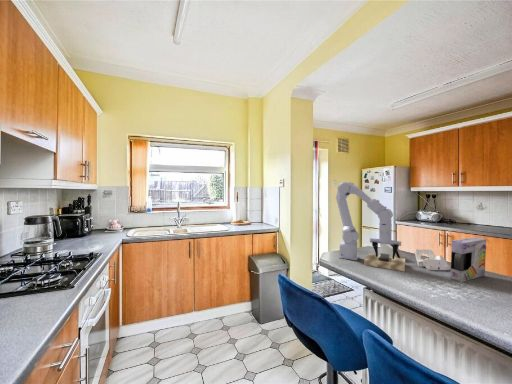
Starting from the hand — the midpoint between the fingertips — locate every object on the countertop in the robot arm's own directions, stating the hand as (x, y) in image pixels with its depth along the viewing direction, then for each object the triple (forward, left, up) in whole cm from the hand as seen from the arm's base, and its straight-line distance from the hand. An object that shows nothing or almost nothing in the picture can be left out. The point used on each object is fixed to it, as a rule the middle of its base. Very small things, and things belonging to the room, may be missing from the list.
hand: (385, 257), depth 128 cm
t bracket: (0, 0, -4) cm, 4 cm away
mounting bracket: (+21, +8, -4) cm, 23 cm away
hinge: (+2, +20, -4) cm, 20 cm away
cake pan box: (+33, 0, -4) cm, 33 cm away
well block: (0, 0, -4) cm, 4 cm away
